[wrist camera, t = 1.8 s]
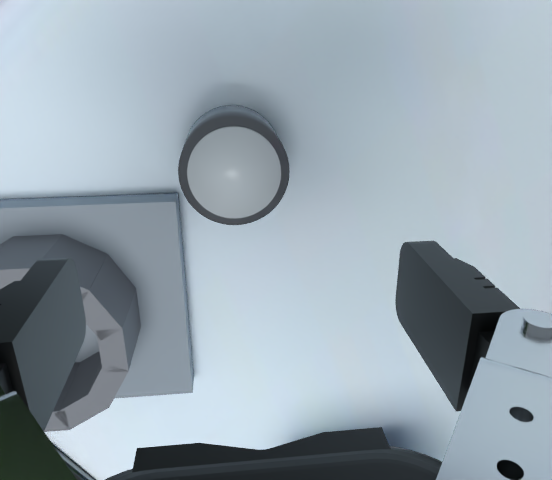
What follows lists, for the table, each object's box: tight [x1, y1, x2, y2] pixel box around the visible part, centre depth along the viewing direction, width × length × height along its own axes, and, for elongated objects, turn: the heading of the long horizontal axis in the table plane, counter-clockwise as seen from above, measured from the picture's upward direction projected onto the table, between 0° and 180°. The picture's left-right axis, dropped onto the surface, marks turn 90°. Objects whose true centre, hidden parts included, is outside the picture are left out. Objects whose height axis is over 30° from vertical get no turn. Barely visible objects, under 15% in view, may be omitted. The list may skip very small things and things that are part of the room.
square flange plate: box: [0, 193, 194, 432], centre depth 25 cm, size 14×12×6 cm
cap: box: [178, 105, 289, 225], centre depth 24 cm, size 5×5×4 cm
